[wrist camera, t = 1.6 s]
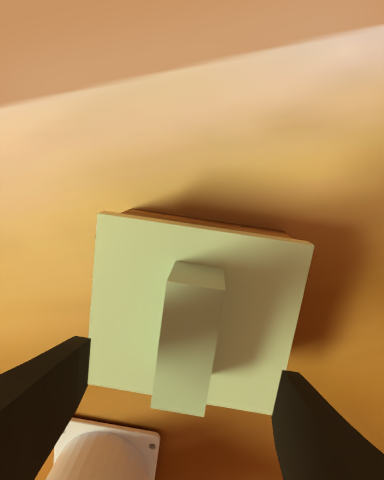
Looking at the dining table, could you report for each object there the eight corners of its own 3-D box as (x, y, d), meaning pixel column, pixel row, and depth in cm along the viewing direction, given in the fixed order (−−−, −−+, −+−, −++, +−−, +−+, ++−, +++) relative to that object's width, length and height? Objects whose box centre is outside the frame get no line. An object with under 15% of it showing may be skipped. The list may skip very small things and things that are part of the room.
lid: (269, 393, 19) (288, 466, 14) (97, 364, 19) (58, 426, 14) (303, 238, 17) (339, 262, 12) (109, 209, 17) (70, 222, 12)
